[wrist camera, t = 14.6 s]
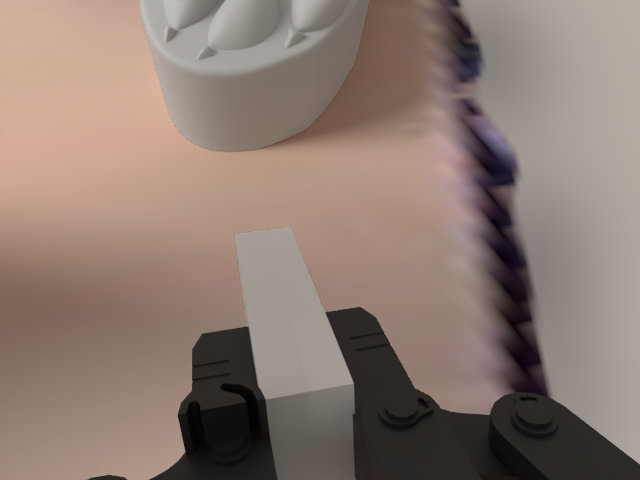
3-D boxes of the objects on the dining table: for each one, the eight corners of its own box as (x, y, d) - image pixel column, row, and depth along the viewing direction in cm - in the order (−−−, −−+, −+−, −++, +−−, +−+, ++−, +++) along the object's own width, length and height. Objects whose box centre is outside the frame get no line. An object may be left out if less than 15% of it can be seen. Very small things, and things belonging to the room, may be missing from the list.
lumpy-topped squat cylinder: (377, 37, 36) (410, -83, 28) (269, 188, 31) (270, 97, 23) (242, -36, 37) (236, -171, 29) (118, 100, 32) (70, -16, 24)
